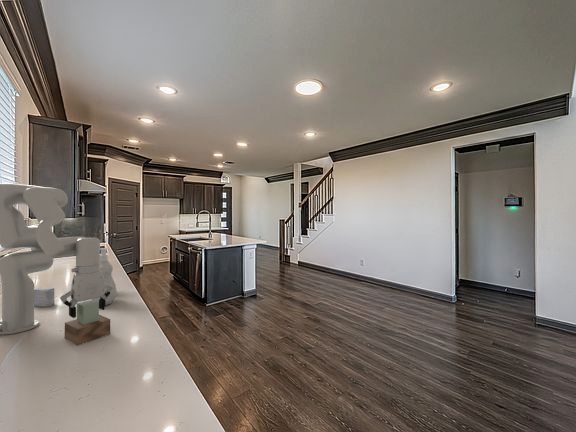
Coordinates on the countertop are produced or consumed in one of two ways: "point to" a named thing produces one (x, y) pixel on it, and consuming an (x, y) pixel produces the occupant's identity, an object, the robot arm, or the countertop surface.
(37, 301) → the medicine box
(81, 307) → the sage block
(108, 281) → the white vase
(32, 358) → the countertop surface
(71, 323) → the walnut riser
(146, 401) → the countertop surface
